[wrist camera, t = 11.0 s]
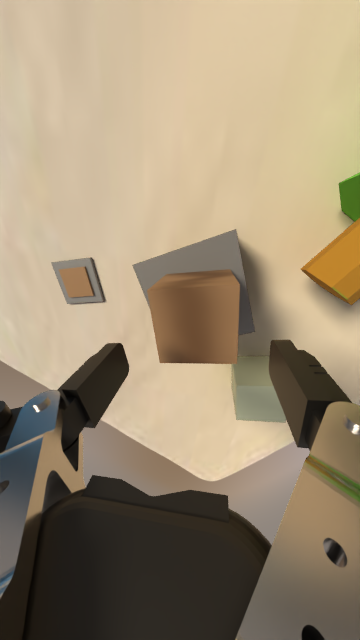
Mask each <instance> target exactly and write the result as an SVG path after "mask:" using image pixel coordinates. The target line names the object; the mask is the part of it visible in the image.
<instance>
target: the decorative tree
mask: <svg viewBox="0 0 360 640" xmlns="http://www.w3.org/2000/svg"><path fill="white" fill-rule="evenodd" d="M339 190H340V199H341V208H342V211H343V212H344V213H345V214H346V215H348V216H349V217H350V218H351V219H352V220H353V221H355V222H354V223H353V224H352V225H351V226H350V227H348V228H347V229H346V230H345V231H344V232H343V233H342V234H340V235H339V236H338V237H337V238H336V239H335V240H333V241H332V242H331V243H330V244H329V245H328V246H327V247H325V248H324V249H323V250H322V251H321V252H320V253H318V254H317V255H316V256H315V257H314V258H313V259H312V260H310V261H309V262H308V263H307V264H306V265H305V266H303V267H302V268H301V270H302V271H303V272H304V273H305V274H306V275H307V276H308V277H310V278H311V279H312V280H313V281H315V282H316V283H317V284H318V285H320V286H321V287H323V288H324V289H325V290H327V291H328V292H330V293H331V294H333V295H334V296H336V297H338V298H340V299H341V300H343V301H345V302H347V303H349V304H350V305H352V304H353V303H355V302H356V301H357V300H358V299H359V298H360V173H358V174H356V175H354V176H352V177H350V178H348V179H346V180H344V181H342V182H341V183H339Z"/></svg>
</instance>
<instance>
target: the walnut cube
mask: <svg viewBox="0 0 360 640" xmlns="http://www.w3.org/2000/svg"><path fill="white" fill-rule="evenodd" d="M147 293H148V299H149V304H150V310H151V315H152V321H153V327H154V332H155V338H156V344H157V349H158V355H159V360H160V363H211V364H237V353H238V324H239V296H240V284H239V282H238V281H237V279H236V278H235V276H234V275H233V273H232V272H231V270H230V269H226V270H213V271H200V272H187V273H174V274H166V275H165V276H164V277H162V278H161V279H160V280H159V281H158V282H156V283H155V284H154V285H153V286H152V287H150V288H149V289H148V290H147Z"/></svg>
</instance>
